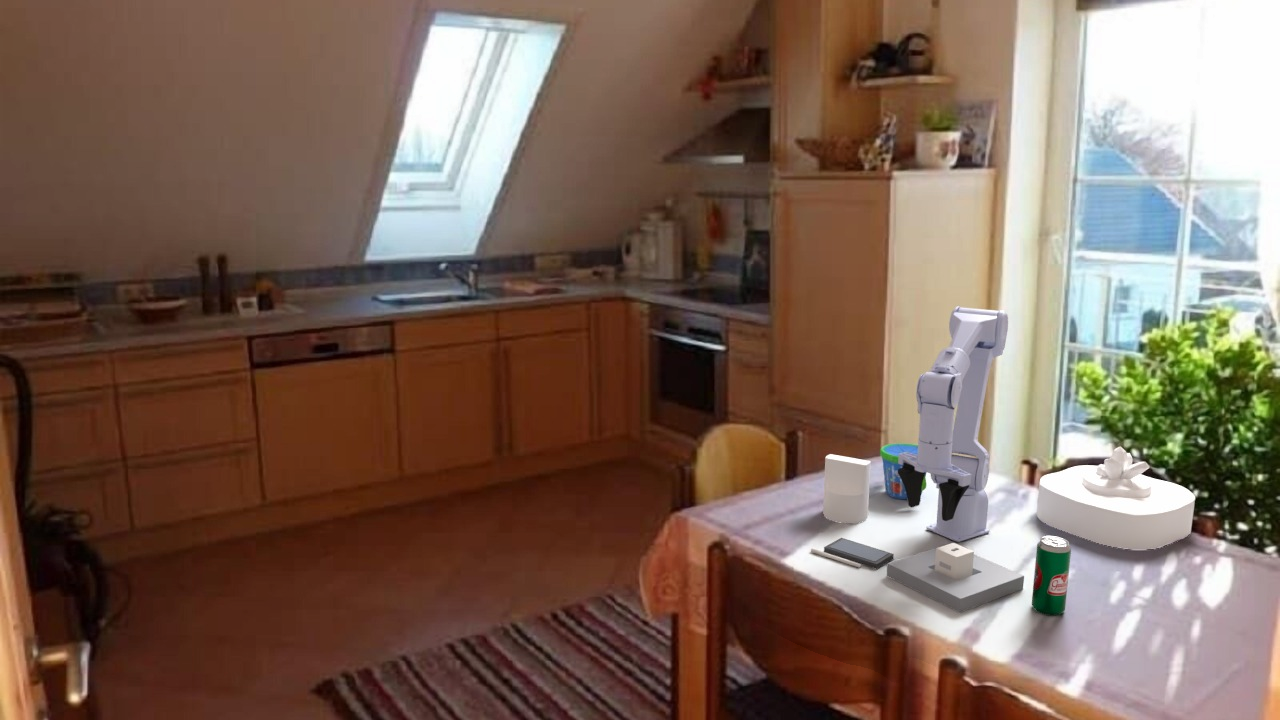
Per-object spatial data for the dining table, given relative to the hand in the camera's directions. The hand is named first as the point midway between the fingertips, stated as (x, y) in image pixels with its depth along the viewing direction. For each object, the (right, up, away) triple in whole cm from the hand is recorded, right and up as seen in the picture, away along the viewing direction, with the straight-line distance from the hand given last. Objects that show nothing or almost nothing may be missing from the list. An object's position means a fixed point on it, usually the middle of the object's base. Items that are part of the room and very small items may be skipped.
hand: (930, 512), depth 173 cm
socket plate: (+3, -11, -5) cm, 13 cm away
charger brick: (+2, -11, -5) cm, 12 cm away
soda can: (+15, -14, -15) cm, 25 cm away
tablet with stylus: (-13, -9, +6) cm, 17 cm away
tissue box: (+43, -6, +22) cm, 49 cm away
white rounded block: (-10, -5, +26) cm, 28 cm away
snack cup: (+5, -2, +37) cm, 37 cm away
